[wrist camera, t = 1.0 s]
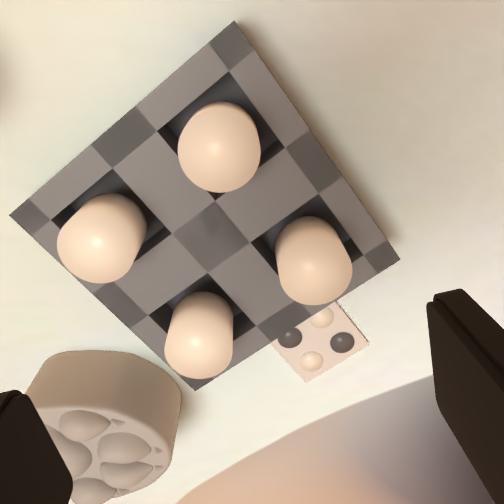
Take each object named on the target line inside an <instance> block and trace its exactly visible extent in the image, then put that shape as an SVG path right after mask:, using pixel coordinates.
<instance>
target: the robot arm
mask: <svg viewBox="0 0 504 504" xmlns="http://www.w3.org/2000/svg"><path fill="white" fill-rule="evenodd" d="M426 308H427V319H428V328H429V337H430V347H431V356H432V366H433V375H434V385H435V393H436V400H437V404H438V406H439V409H440V411H441V413H442V415H443V417H444V419H445V420H446V422H447V423H448V425H449V427H450V429H451V430H452V432H453V434H454V435H455V437H456V439H457V440H458V442H459V444H460V445H461V447H462V449H463V450H464V452H465V454H466V455H467V457H468V459H469V460H470V462H471V464H472V465H473V467H474V469H475V470H476V472H477V474H478V475H479V477H480V479H481V480H482V482H483V484H484V485H485V487H486V489H487V491H488V492H489V494H490V496H491V497H492V499H493V500H494V502H495V504H504V329H503V328H502V327H501V326H500V325H499V324H498V323H497V322H496V321H495V320H494V319H493V318H492V317H491V316H490V315H489V314H488V313H487V312H486V311H485V310H483V309H482V308H481V307H480V306H479V305H478V304H477V303H476V302H475V301H474V300H473V299H472V298H471V297H470V296H469V295H468V294H467V293H466V292H465V291H464V290H463V289H456V290H451V291H447V292H443V293H438V294H435V295H434V298H433V302H428V303H427V306H426ZM72 491H73V479H72V475H71V473H70V471H69V470H68V468H67V466H66V464H65V462H64V460H63V458H62V457H61V455H60V453H59V451H58V449H57V447H56V445H55V443H54V442H53V440H52V438H51V436H50V434H49V432H48V430H47V429H46V427H45V425H44V423H43V421H42V419H41V417H40V416H39V414H38V412H37V410H36V408H35V406H34V404H33V402H32V401H31V399H30V397H29V396H28V395H26V394H22V393H21V392H20V391H18V390H12V391H7V392H3V393H0V504H68V502H69V499H70V497H71V494H72Z"/></svg>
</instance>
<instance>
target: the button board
mask: <svg viewBox="0 0 504 504" xmlns="http://www.w3.org/2000/svg"><path fill="white" fill-rule="evenodd" d="M215 101H227V102H232V103H234V104H237V105H239V106H240V107H242V108H243V109H244V110H246V111H247V112H248V114H249V115H250V116H251V117H252V119H253V121H254V123H255V125H256V128H257V133H258V138H259V142H260V149H261V155H260V162H259V165H258V168H257V170H256V172H255V174H254V175H253V177H252V178H251V179H250V180H249V181H248V182H247V183H246V184H245V185H243V186H242V187H240V188H238V189H236V190H233V191H230V192H223V193H218V192H211V191H207V190H204V189H202V188H200V187H198V186H197V185H195V184H194V183H193V182H192V181H191V180H190V179H189V178H188V177H187V176H186V175H185V173H184V171H183V170H182V168H181V165H180V162H179V158H178V142H179V138H180V135H181V133H182V131H183V129H184V128H185V126H186V124H187V123H188V121H189V120H190V118H191V117H192V115H193V114H194V113H195V112H196V111H197V110H198V109H199V108H201V107H202V106H204V105H205V104H208V103H210V102H215ZM101 193H118V194H121V195H124V196H126V197H128V198H130V199H131V200H133V201H134V202H135V203H136V204H137V205H138V206H139V207H140V208H141V210H142V211H143V213H144V215H145V218H146V222H147V233H146V237H145V239H144V241H143V243H142V245H141V247H140V249H139V251H138V253H137V256H136V258H135V260H134V262H133V264H132V266H131V268H130V269H129V271H128V272H127V273H126V274H125V275H124V276H123V277H121V278H120V279H118V280H116V281H113V282H109V283H92V282H88V281H85V280H82V279H80V278H78V277H77V276H75V275H74V274H72V273H71V272H70V271H69V270H68V269H67V268H66V267H65V266H64V264H63V263H62V261H61V259H60V257H59V254H58V251H57V238H58V235H59V232H60V230H61V228H62V227H63V226H64V224H65V223H66V222H67V221H68V220H69V219H70V218H71V217H72V216H73V215H74V214H75V213H76V212H77V211H78V210H79V209H80V208H81V207H82V206H83V205H84V204H85V203H86V202H87V201H88V200H89V199H90V198H92V197H94V196H95V195H98V194H101ZM9 216H10V217H11V218H13V219H14V220H15V221H16V222H17V223H18V224H19V225H20V226H21V227H22V228H23V229H24V230H25V231H26V232H27V233H28V234H29V235H31V236H32V237H33V238H34V239H35V240H36V241H37V242H38V243H39V244H40V245H41V246H42V247H43V248H44V249H45V250H46V251H47V252H49V253H50V254H51V255H52V256H53V257H54V258H55V259H56V260H57V261H58V262H59V263H60V264H61V265H62V266H63V267H64V268H65V269H67V270H68V271H69V272H70V273H71V274H72V275H73V276H74V277H75V278H76V279H77V280H78V281H79V282H80V283H81V284H82V285H83V286H85V287H86V288H87V289H88V290H89V291H90V292H91V293H92V294H93V295H94V296H95V297H96V298H97V299H98V300H99V301H100V302H101V303H103V304H104V305H105V306H106V307H107V308H108V309H109V310H110V311H111V312H112V313H113V314H114V315H115V316H116V317H117V318H118V319H119V320H121V321H122V322H123V323H124V324H125V325H126V326H127V327H128V328H129V329H130V330H131V331H132V332H133V333H134V334H135V335H136V336H137V337H139V338H140V339H141V340H142V341H143V342H144V343H145V344H146V345H147V346H148V347H149V348H150V349H151V350H152V351H153V352H154V353H155V354H157V355H158V356H159V357H160V358H161V359H162V360H163V361H164V362H165V363H166V364H167V365H168V366H169V367H170V368H171V369H172V367H171V366H170V365H169V364H168V362H167V360H166V357H165V353H164V347H165V342H166V338H167V334H168V330H169V326H170V322H171V318H172V314H173V310H174V308H175V306H176V304H177V303H178V301H179V300H180V299H181V298H183V297H184V296H186V295H188V294H190V293H193V292H200V291H204V292H211V293H214V294H217V295H219V296H220V297H222V298H223V299H224V300H226V301H227V303H228V304H229V305H230V307H231V309H232V312H233V354H232V359H231V361H230V363H229V365H228V366H227V368H226V369H225V370H224V371H222V372H221V373H219V374H218V375H216V376H213V377H210V378H205V379H194V378H189V377H185V376H183V375H181V374H179V373H177V372H176V371H175V370H174V369H172V370H173V371H175V372H176V373H177V374H178V375H179V376H180V377H181V378H182V379H183V380H184V381H185V382H186V383H187V384H188V385H189V386H190V387H191V388H193V389H194V390H195V391H196V390H198V389H199V388H201V387H202V386H204V385H206V384H207V383H209V382H210V381H212V380H213V379H215V378H216V377H218V376H220V375H221V374H223V373H224V372H226V371H227V370H229V369H230V368H232V367H234V366H235V365H237V364H238V363H240V362H241V361H243V360H244V359H246V358H248V357H249V356H251V355H252V354H254V353H255V352H257V351H259V350H260V349H262V348H263V347H265V346H266V345H268V344H269V343H271V342H273V341H274V340H276V339H277V338H279V337H280V336H282V335H283V334H285V333H287V332H288V331H290V330H291V329H293V328H294V327H296V326H297V325H299V324H301V323H302V322H304V321H305V320H307V319H308V318H310V317H312V316H313V315H315V314H316V313H318V312H319V311H321V310H322V309H324V308H326V307H327V306H329V305H330V304H332V303H333V302H335V301H336V300H338V299H340V298H341V297H343V296H344V295H346V294H347V293H349V292H350V291H352V290H354V289H355V288H357V287H358V286H360V285H361V284H363V283H365V282H366V281H368V280H369V279H371V278H372V277H374V276H375V275H377V274H379V273H380V272H382V271H383V270H385V269H386V268H388V267H389V266H391V265H393V264H394V263H396V262H397V261H399V260H400V258H399V256H398V255H397V253H396V252H395V251H394V249H393V248H392V246H391V245H390V243H389V242H388V241H387V239H386V238H385V236H384V235H383V233H382V232H381V231H380V229H379V228H378V226H377V225H376V223H375V222H374V220H373V219H372V218H371V216H370V215H369V213H368V212H367V210H366V209H365V208H364V206H363V205H362V203H361V202H360V200H359V199H358V198H357V196H356V195H355V193H354V192H353V190H352V189H351V187H350V186H349V185H348V183H347V182H346V180H345V179H344V177H343V176H342V175H341V173H340V172H339V170H338V169H337V167H336V166H335V165H334V163H333V162H332V160H331V159H330V157H329V156H328V154H327V153H326V152H325V150H324V149H323V147H322V146H321V144H320V143H319V142H318V140H317V139H316V137H315V136H314V134H313V133H312V132H311V130H310V129H309V127H308V126H307V124H306V123H305V121H304V120H303V119H302V117H301V116H300V114H299V113H298V111H297V110H296V109H295V107H294V106H293V104H292V103H291V101H290V100H289V99H288V97H287V96H286V94H285V93H284V91H283V90H282V88H281V87H280V86H279V84H278V83H277V81H276V80H275V78H274V77H273V76H272V74H271V73H270V71H269V70H268V68H267V67H266V66H265V64H264V63H263V61H262V60H261V58H260V57H259V55H258V54H257V53H256V51H255V50H254V48H253V47H252V45H251V44H250V43H249V41H248V40H247V38H246V37H245V35H244V34H243V32H242V31H241V30H240V28H239V27H238V25H237V24H236V22H235V21H233V22H232V23H231V24H230V25H229V26H227V27H226V28H225V29H224V30H223V31H222V32H220V33H219V34H218V35H217V36H216V37H215V38H213V39H212V40H211V41H210V42H209V43H208V44H207V45H205V46H204V47H203V48H202V49H201V50H200V51H198V52H197V53H196V54H195V55H194V56H193V57H192V58H190V59H189V60H188V61H187V62H186V63H185V64H183V65H182V66H181V67H180V68H179V69H178V70H176V71H175V72H174V73H173V74H172V75H171V76H170V77H168V78H167V79H166V80H165V81H164V82H163V83H161V84H160V85H159V86H158V87H157V88H156V89H154V90H153V91H152V92H151V93H150V94H149V95H148V96H146V97H145V98H144V99H143V100H142V101H141V102H139V103H138V104H137V105H136V106H135V107H134V108H133V109H131V110H130V111H129V112H128V113H127V114H126V115H124V116H123V117H122V118H121V119H120V120H119V121H117V122H116V123H115V124H114V125H113V126H112V127H111V128H109V129H108V130H107V131H106V132H105V133H104V134H102V135H101V136H100V137H99V138H98V139H97V140H96V141H94V142H93V143H92V144H91V145H90V146H89V147H87V148H86V149H85V150H84V151H83V152H82V153H80V154H79V155H78V156H77V157H76V158H75V159H74V160H72V161H71V162H70V163H69V164H68V165H67V166H65V167H64V168H63V169H62V170H61V171H60V172H58V173H57V174H56V175H55V176H54V177H53V178H52V179H50V180H49V181H48V182H47V183H46V184H45V185H43V186H42V187H41V188H40V189H39V190H38V191H37V192H35V193H34V194H33V195H32V196H31V197H30V198H28V199H27V200H26V201H25V202H24V203H23V204H21V205H20V206H19V207H18V208H17V209H16V210H15V211H13V212H12V213H11V214H10V215H9ZM304 216H313V217H318V218H321V219H323V220H325V221H327V222H328V223H329V224H331V225H332V227H333V228H334V229H335V231H336V233H337V234H338V236H339V238H340V240H341V242H342V244H343V246H344V248H345V250H346V252H347V254H348V256H349V258H350V260H351V263H352V278H351V281H350V283H349V285H348V287H347V289H346V290H345V291H344V292H343V293H342V294H341V295H340V296H339V297H338V298H336V299H334V300H333V301H331V302H328V303H325V304H321V305H305V304H301V303H299V302H296V301H295V300H293V299H292V298H290V297H289V296H288V295H287V294H286V293H285V291H284V290H283V288H282V286H281V283H280V279H279V273H278V267H277V261H276V256H275V240H276V237H277V235H278V233H279V232H280V230H281V229H282V228H283V227H284V226H285V225H286V224H287V223H288V222H290V221H292V220H294V219H296V218H299V217H304Z"/></svg>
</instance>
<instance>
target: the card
mask: <svg viewBox="0 0 504 504" xmlns="http://www.w3.org/2000/svg"><path fill="white" fill-rule="evenodd" d="M270 344H271V345H272V346H273V347H274V348H275V349H276V351H277V352H278V353H279V354H280V355H281V356H282V357H283V358H284V359H285V360H286V361H287V363H288V364H289V365H290V366H291V367H292V368H293V369H294V370H295V371H296V372H297V373H298V375H299V376H300V377H301V378H302V379H303V380H304V381H305V382H306V383H307V382H309V381H310V380H312V379H314V378H315V377H317V376H319V375H320V374H322V373H324V372H325V371H327V370H328V369H330V368H332V367H333V366H335V365H337V364H338V363H340V362H342V361H343V360H345V359H347V358H348V357H350V356H352V355H353V354H355V353H357V352H358V351H360V350H362V349H363V348H365V347H367V346H368V345H369V343H368V341H367V340H366V339H365V338H364V336H363V335H362V334H361V333H360V331H359V330H358V329H357V328H356V326H355V325H354V324H353V323H352V321H351V320H350V319H349V318H348V316H347V315H346V314H345V313H344V311H343V310H342V309H341V308H340V306H339V305H338V304H337V303H336V301H335V302H333V303H332V304H330V305H329V306H327V307H326V308H324V309H322V310H321V311H319V312H318V313H316V314H315V315H313V316H312V317H310V318H308V319H307V320H305V321H304V322H302V323H301V324H299V325H297V326H296V327H294V328H293V329H291V330H290V331H288V332H287V333H285V334H283V335H282V336H280V337H279V338H277V339H276V340H274V341H273V342H271V343H270Z"/></svg>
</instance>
